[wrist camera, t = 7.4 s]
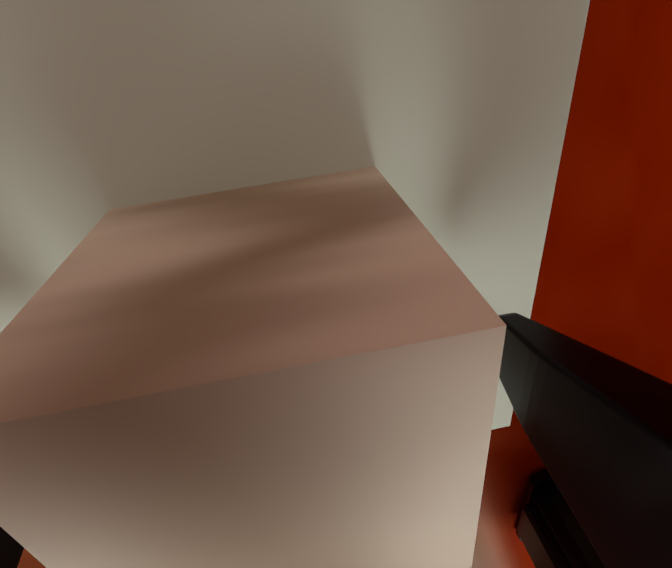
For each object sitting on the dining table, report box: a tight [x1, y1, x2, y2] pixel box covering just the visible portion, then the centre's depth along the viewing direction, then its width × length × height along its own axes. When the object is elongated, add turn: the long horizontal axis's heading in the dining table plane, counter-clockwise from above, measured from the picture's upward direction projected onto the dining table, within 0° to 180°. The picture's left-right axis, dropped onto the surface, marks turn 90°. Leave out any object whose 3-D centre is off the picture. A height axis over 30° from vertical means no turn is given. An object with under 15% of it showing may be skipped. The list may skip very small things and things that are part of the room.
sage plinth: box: [0, 0, 590, 430], centre depth 11 cm, size 14×14×3 cm
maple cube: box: [0, 166, 507, 568], centre depth 7 cm, size 6×6×6 cm
